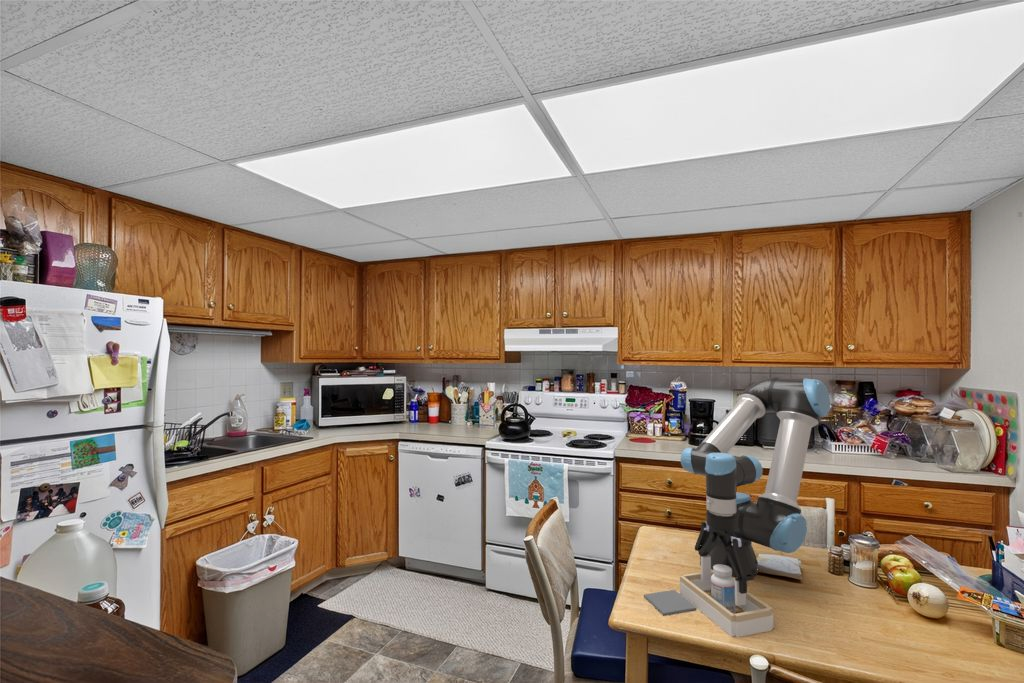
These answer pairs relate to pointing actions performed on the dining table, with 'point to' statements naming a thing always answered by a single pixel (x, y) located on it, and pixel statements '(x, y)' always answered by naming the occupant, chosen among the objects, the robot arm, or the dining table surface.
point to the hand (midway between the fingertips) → (722, 591)
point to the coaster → (669, 602)
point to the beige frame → (739, 624)
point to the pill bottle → (723, 587)
